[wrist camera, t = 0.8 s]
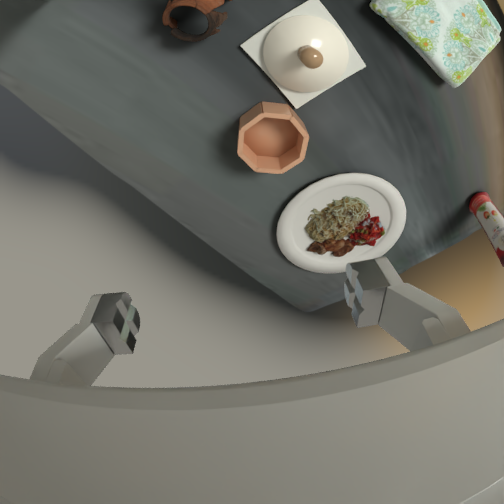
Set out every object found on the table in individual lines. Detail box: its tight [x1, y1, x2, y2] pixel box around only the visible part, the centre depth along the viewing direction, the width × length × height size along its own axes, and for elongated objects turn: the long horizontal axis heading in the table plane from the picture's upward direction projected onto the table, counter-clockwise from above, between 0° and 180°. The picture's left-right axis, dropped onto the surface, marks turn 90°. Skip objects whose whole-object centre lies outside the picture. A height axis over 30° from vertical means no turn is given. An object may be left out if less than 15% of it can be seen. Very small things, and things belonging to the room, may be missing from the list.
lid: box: [263, 15, 349, 92], centre depth 36 cm, size 13×13×5 cm
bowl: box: [237, 102, 309, 174], centre depth 47 cm, size 11×11×5 cm
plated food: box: [276, 173, 406, 273], centre depth 64 cm, size 30×30×3 cm
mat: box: [240, 0, 366, 109], centre depth 37 cm, size 14×14×1 cm
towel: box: [369, 0, 501, 88], centre depth 28 cm, size 18×21×5 cm
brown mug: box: [162, 0, 232, 41], centre depth 29 cm, size 12×10×8 cm
